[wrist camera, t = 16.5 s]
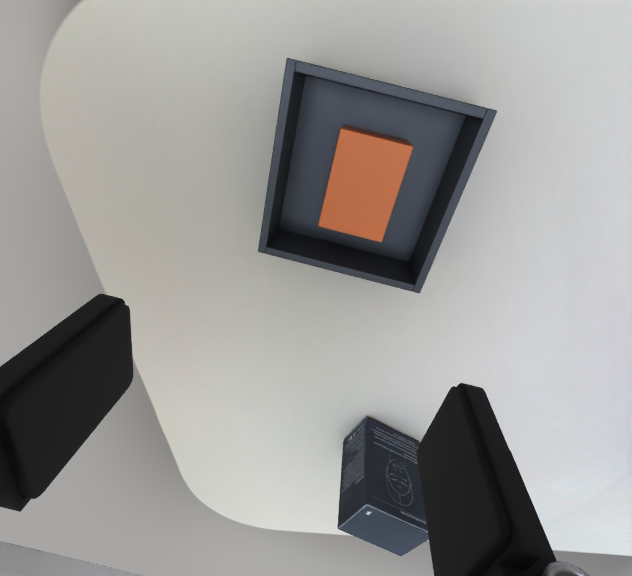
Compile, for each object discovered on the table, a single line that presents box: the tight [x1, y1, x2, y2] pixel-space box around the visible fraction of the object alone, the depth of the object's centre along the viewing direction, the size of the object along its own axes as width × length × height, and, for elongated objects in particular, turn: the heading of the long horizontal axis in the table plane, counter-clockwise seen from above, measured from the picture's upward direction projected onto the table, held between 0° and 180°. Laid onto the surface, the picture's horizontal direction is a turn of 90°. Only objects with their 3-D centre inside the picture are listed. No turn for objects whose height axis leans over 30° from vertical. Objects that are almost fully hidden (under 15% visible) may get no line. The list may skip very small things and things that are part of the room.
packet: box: [318, 125, 413, 242], centre depth 27 cm, size 5×7×4 cm
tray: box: [258, 58, 497, 293], centre depth 27 cm, size 13×13×5 cm
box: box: [338, 417, 429, 556], centre depth 39 cm, size 8×6×11 cm
